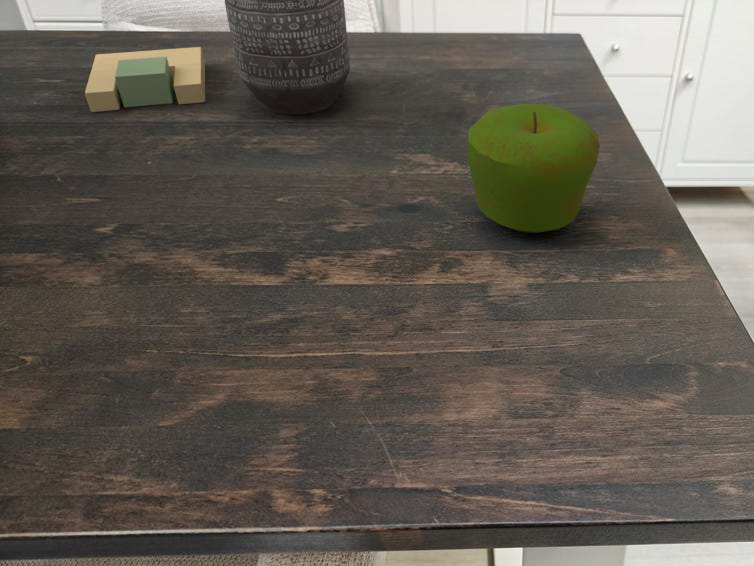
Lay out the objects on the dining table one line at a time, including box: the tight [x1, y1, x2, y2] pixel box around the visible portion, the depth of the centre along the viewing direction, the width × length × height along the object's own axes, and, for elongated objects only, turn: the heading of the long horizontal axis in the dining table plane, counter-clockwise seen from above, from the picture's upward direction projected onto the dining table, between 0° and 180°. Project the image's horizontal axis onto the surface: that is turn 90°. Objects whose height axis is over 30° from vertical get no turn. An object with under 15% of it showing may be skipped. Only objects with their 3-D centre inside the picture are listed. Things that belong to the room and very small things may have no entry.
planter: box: [224, 0, 351, 116], centre depth 94 cm, size 14×14×15 cm
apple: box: [467, 103, 601, 234], centre depth 73 cm, size 12×12×11 cm
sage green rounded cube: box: [115, 57, 175, 108], centre depth 97 cm, size 6×6×4 cm
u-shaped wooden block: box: [84, 46, 206, 113], centre depth 100 cm, size 14×14×2 cm
